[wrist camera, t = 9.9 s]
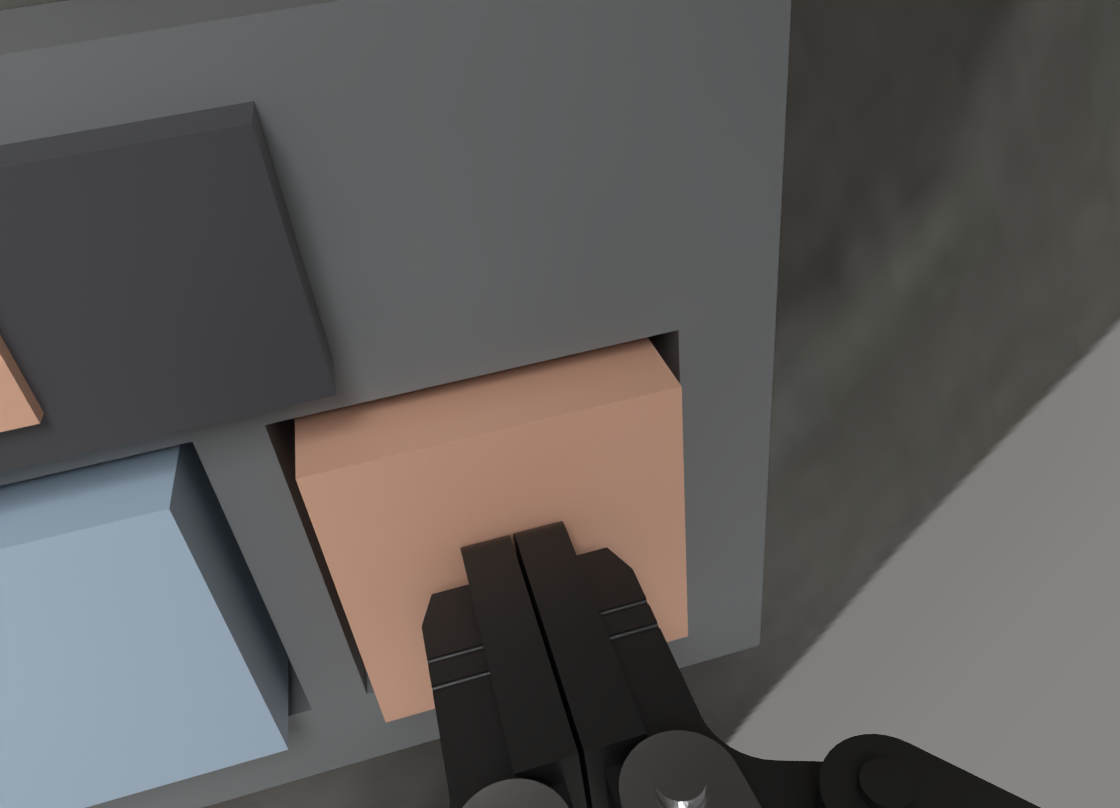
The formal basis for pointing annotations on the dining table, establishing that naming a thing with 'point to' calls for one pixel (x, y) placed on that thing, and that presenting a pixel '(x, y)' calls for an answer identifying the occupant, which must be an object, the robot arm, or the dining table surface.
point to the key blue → (129, 635)
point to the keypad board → (384, 263)
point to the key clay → (493, 491)
